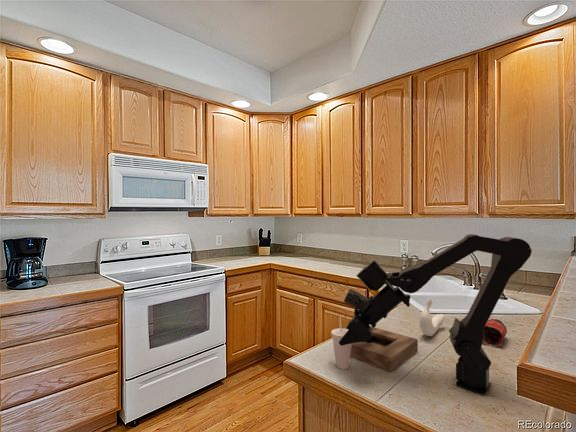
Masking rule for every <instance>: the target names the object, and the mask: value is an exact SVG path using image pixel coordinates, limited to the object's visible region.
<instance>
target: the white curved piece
mask: <svg viewBox="0 0 576 432" xmlns="http://www.w3.org/2000/svg"><path fill="white" fill-rule="evenodd" d="M432 305H433V302H432V298H429V299H427V300H426V302H425V307H424V309H423V310H421V312H420V315H419V326H420V327H419V328H420V330H421V333H423V334H424V335H425V336H428V337H432V336H434V335H435V334H436V332H437V331H438V330H439V328H440V327H441V326H442V325H443V323H444V320H445V317H446V316H445V315H444V314H442V313H440V314H436V315H434V316H432V315H431V313H430V307H431V306H432Z"/></svg>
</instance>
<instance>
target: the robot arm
mask: <svg viewBox="0 0 576 432" xmlns="http://www.w3.org/2000/svg"><path fill="white" fill-rule="evenodd" d="M475 252H483V253H487V254H492V255H491V263H490V269H489V270H488V272H487V274H486V276H485V279H484V280H483V283H482V284H481V286H480V289H479V290H478V293H477V294H476V296H475V298H474V300H473V302H472V304H471V306H470V308H469V310H468V312H467V314H466V316H465V317H463V319H461V320H460V319H458V318H456V317H455V318H454V321H453V323H452V326H451V327H450V328H449V329H448V332H449V341H450V342H451V344H452V347H453V349H454V351H455V353H456V354H457V355H458V356H459V357H458V358H457V362H456V364H455V379H456V382H455V386H458V387H460V388H463V389H466V390H470V391H472V392H475V393H477V394H481V395H484V396H485V395H486V394H487V393H488V392H489V390H490V388H491V387H492V383H491V382H490V367H491V365H492V361H491V359H490V358H489V355H487V353H486V352H485V351H484V349H483V344H484V343H483V336H484V328H485V325H486V323H487V321H488V320H490V317H491V315H492V314H493V312H494V309H495V308H496V305H497V304H498V302H499V300H500V298H501V296H502V295H503V292H504V290H505V288H506V286H507V285H508V282H509V280H510V278H511V277H512V276H513V275H514V274H515V273H517V272H518V271H519V270H520V269H521V268H523V266H524V265H525V264H526V262H527V261H528V260H529V259H530V257H531V256H532V248H531V246H530V243H528V242H527V241H526V240H524V239H522V238H518V237H517V238H516V237H512V236H504V237H502V238H501V237H500V238H495V237H494V238H493V237H486V236H481V235H477V234H473V233H469V234H467V235H465V236H464V237H463V238H462V239H460V240H458V241H457V242H455V243H453V244H451V245H450V246H449V247H447V248H445V249H444V250H443V249H442V251H440V252H438V253H437V254H435V255H433V256H432V257H430V258H429V259H427V260H425V261H423V262H419V263H416V264H413V265H411V266H408V267H406V268H405V267H404V268H403V269H401V270H400V271H396V272H387V271H385V270H384V268H382V267H381V266H380V264H379V263H378V262H377V261H376V259H375V260H373V261H371V262H370V263H369V264H367V265H365V266H364V267H363V268H362V269H361V270H360V271H359V272H358V273H357V274H356V277H357V278H358V279H359V280H360V281H361V282H362V283H363V284H364V285H365V287H366V288H367V289H368V290H369V291H374V292H377V291H378V292H377V293H376V294H375V295H370V296H369V297H366V296H365V295H364V294H362V293H360V292H358V291H356V290H354V289H352V288H349V289H348V291H347V294H346V295H345V297H344V300H343V302H344V304H347V305H350V306H352V307H354V315H353V316H352V318H351V319H350V320H349V321H348V323H347V326H346V327H345V329H349V330H348V331H347V332H346V333H345V335H344V336H343V337H342V339H341V340H340V341H339V344H340V345H341V346H343V345H347V344H352V343H357V342H367V341H369V340H370V339H371V337H372V328H371V327H373V328H376V326H377V324H378V323H379V322H380V321H381V320H382V319H383V318H384V319H386V318H387V317H388V315H389V313H391V311H393V310H394V309H395V308H397V306H398V305H400V304H401V303H403V304H404V305H405V306H406V307H408V308H409V307H410V306H411V304H410V300H411V294H414V293H416V292H419V291H420V289H422V288H423V287H424V286H425V285H426V284H428V282H429V281H430V280H431V279H433V277H434V276H436V275H437V274H439V273H440V272H442V271H444V270H445V269H447V268H449V267H451V266H452V265H454V264H456V263H457V262H460V261H461V260H463V259H464V258H466V257H468V256H469V255H471V254H473V253H475ZM384 285H385V286H384ZM381 288H382V289H381ZM404 292H405V293H404ZM370 326H371V327H370Z"/></svg>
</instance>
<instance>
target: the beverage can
mask: <svg viewBox="0 0 576 432" xmlns="http://www.w3.org/2000/svg"><path fill="white" fill-rule="evenodd" d="M507 333H508V330H507V327H506V324H505V323H504V322H502V321H501V320H500V319H497V318H496V319H494V318H489V319H488V321H487V323H486V325H485V328H484V336H483V343H482V344H485V345H486V346H488V347H490V343H491V342H492V340H493V338H495V339H496V341H495V344H494V345H493V346H491V347H492V348H496V347H497V348H498V347H499V346H502V345H503V342H504V340H505V338H506V335H507Z"/></svg>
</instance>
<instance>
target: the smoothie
mask: <svg viewBox="0 0 576 432" xmlns="http://www.w3.org/2000/svg"><path fill="white" fill-rule="evenodd" d="M342 323H343V322H342V316H341V315H340V316H339V327H338V328H333V329H332V330H331V333H330V336H331V337H332V342H333V343H332V344H333V352H334V353H333V354H334V360H335V367H337V368H339V369H343V370H346V369H348V368H349V367H350V363H351V361H350V360H351V357H350V354H351V345H352V344H347V345H343V346H341V345H340V344H339V341H340V340H341V339H342V337H343V336H344V335H345V333H346V332H347V331H348V330H349V329H346V328H342V327H343V325H342Z"/></svg>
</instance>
